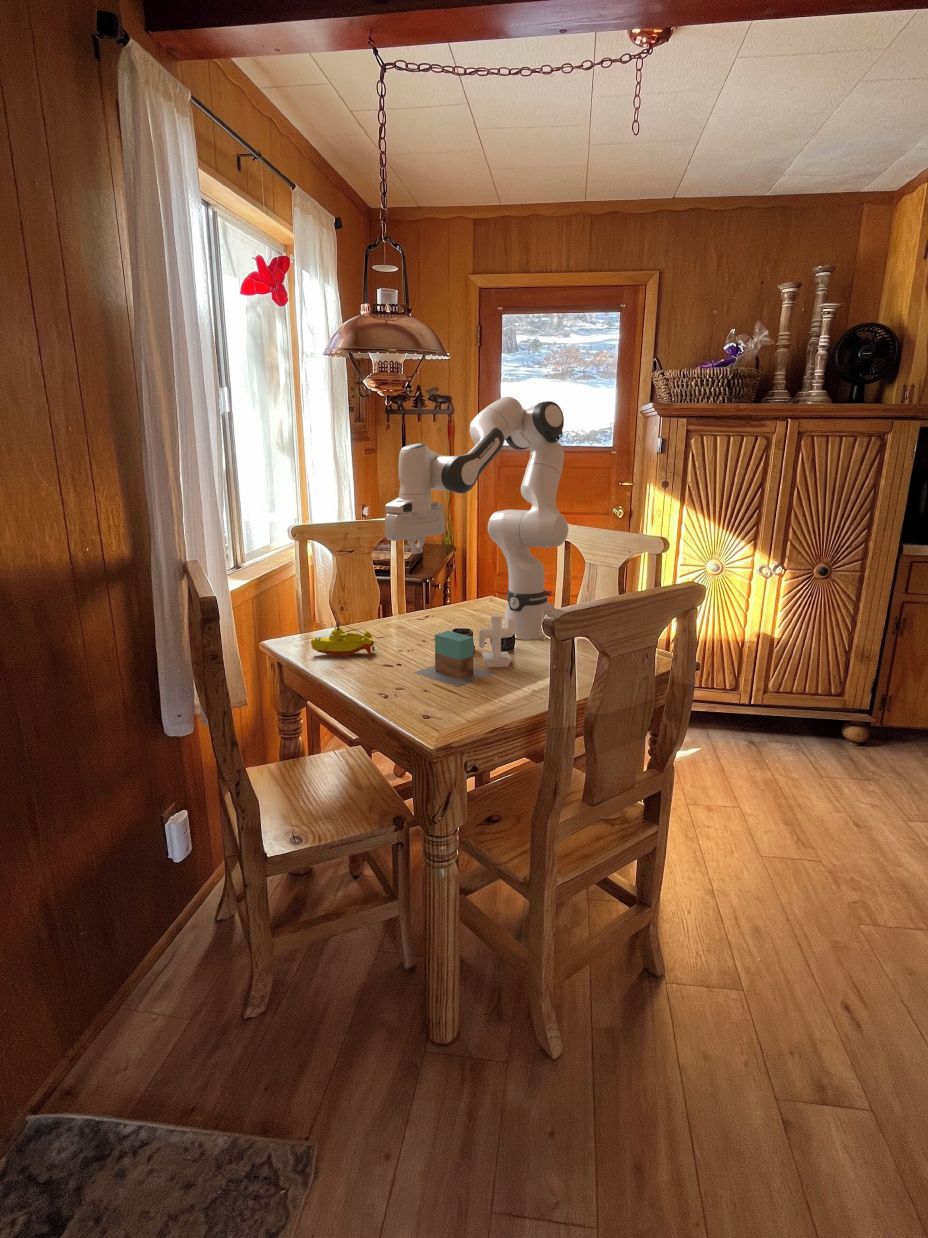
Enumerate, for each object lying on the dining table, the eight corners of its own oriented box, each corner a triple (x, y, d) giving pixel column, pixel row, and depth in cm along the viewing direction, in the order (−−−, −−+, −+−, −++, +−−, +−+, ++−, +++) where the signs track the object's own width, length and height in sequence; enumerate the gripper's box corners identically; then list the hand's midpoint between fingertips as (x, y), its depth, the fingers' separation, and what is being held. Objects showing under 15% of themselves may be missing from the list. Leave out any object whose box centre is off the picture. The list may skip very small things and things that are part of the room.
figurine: (477, 665, 193) (477, 612, 189) (511, 664, 194) (511, 611, 190) (480, 674, 186) (480, 619, 182) (515, 672, 187) (516, 618, 183)
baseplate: (451, 665, 193) (451, 660, 193) (494, 678, 182) (495, 672, 182) (413, 678, 183) (413, 672, 183) (457, 692, 173) (457, 686, 172)
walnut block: (448, 666, 187) (448, 648, 186) (473, 674, 181) (473, 655, 180) (435, 671, 184) (434, 653, 182) (460, 679, 178) (459, 660, 176)
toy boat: (374, 657, 201) (372, 623, 198) (310, 659, 199) (308, 625, 197) (375, 650, 207) (373, 618, 204) (313, 652, 206) (311, 619, 203)
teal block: (448, 648, 186) (448, 630, 185) (473, 655, 180) (473, 637, 179) (435, 653, 182) (434, 634, 181) (460, 660, 176) (459, 641, 175)
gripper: (434, 500, 204) (435, 547, 208) (380, 505, 190) (382, 556, 193) (449, 501, 200) (450, 549, 203) (395, 507, 186) (397, 559, 189)
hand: (416, 553), depth 198 cm, fingers closed
